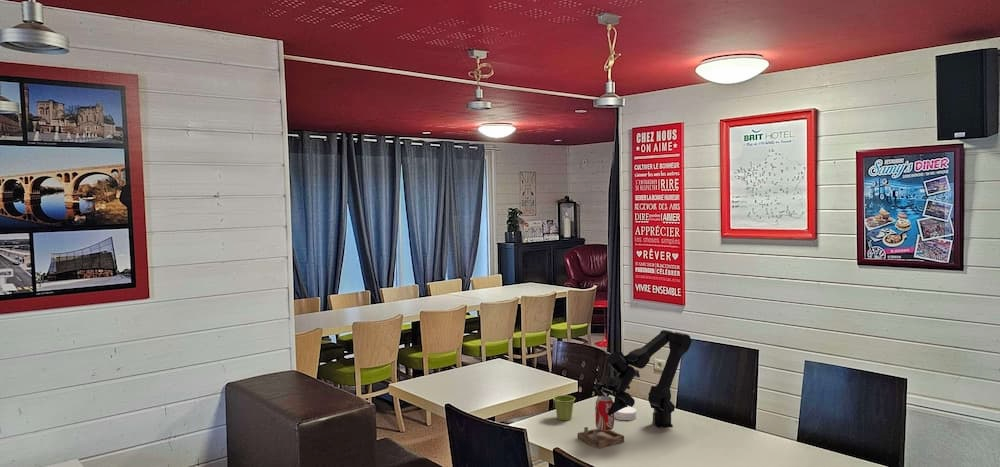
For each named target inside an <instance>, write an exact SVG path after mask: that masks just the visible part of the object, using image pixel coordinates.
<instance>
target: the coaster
mask: <svg viewBox="0 0 1000 467" xmlns="http://www.w3.org/2000/svg"><path fill="white" fill-rule="evenodd" d="M627 406H628V405H627ZM637 414H638V413H637V409H636V408H635V407H634V406H633V407H630V406H628V407H625V408H623V409H621V410H619V411H617V412H615V413H614V419H616V420H618V421H626V420H629V421H634V420H636V419H637ZM633 419H634V420H633Z"/></svg>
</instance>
